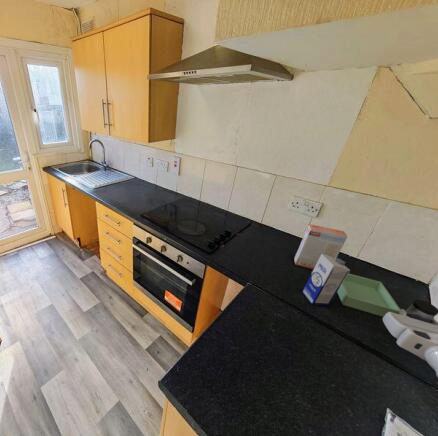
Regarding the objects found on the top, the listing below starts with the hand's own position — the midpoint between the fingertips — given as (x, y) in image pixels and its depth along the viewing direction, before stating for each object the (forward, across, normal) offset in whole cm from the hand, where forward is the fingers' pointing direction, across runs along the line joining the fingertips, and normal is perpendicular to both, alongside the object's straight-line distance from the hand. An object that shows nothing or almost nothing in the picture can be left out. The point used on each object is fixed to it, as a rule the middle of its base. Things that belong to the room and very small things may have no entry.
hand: (415, 314), depth 75 cm
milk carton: (+6, +24, +10) cm, 27 cm away
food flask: (-1, 0, +7) cm, 7 cm away
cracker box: (+30, +22, +10) cm, 39 cm away
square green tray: (+16, +6, +10) cm, 20 cm away
